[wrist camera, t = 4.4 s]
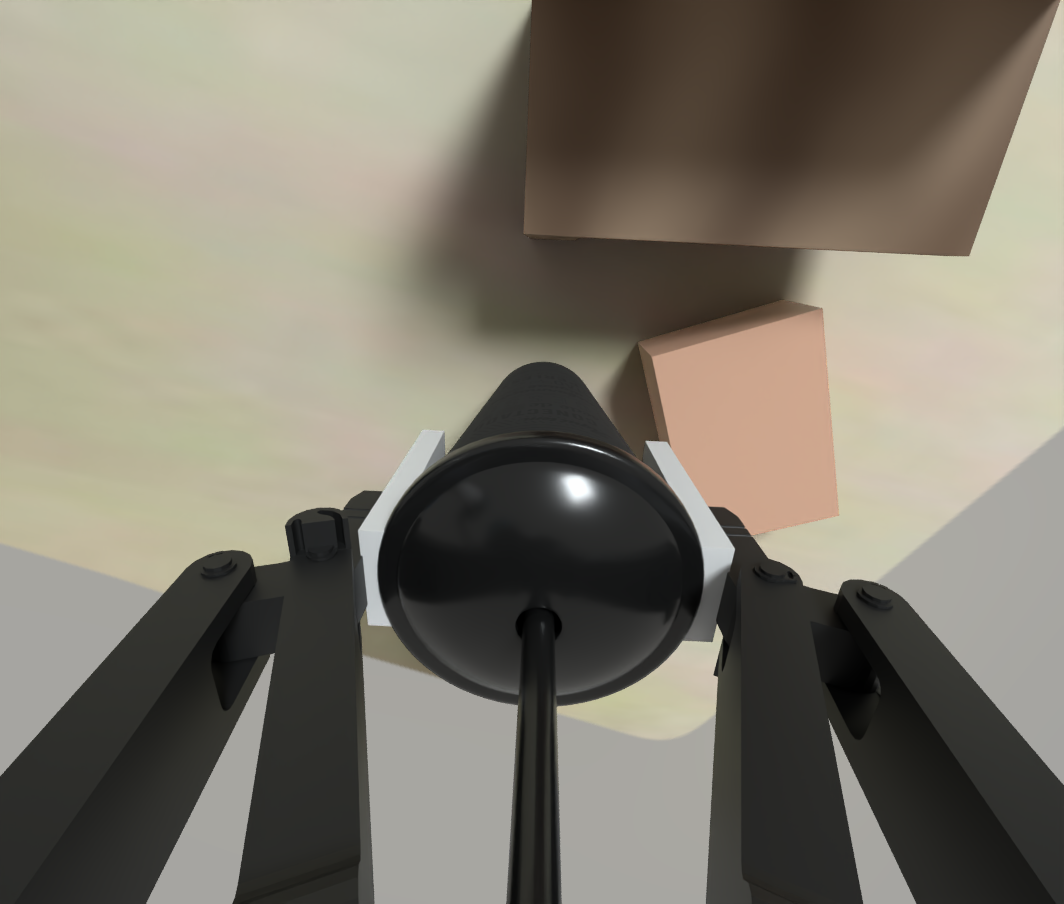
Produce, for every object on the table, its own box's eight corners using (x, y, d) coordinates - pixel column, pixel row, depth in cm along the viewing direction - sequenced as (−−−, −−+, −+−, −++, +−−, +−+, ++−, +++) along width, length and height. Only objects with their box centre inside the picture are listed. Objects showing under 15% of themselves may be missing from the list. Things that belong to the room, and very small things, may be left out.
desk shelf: (530, 238, 23) (505, 221, 10) (540, -12, 19) (522, -546, 6) (857, 254, 23) (1273, 259, 10) (925, 5, 19) (1716, -510, 6)
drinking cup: (565, 296, 22) (674, 565, 4) (649, 429, 24) (978, 1010, 6) (432, 389, 24) (43, 888, 5) (522, 505, 26) (469, 1128, 8)
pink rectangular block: (673, 509, 28) (692, 549, 24) (636, 340, 25) (651, 357, 21) (799, 479, 27) (839, 515, 24) (779, 299, 24) (822, 308, 20)
